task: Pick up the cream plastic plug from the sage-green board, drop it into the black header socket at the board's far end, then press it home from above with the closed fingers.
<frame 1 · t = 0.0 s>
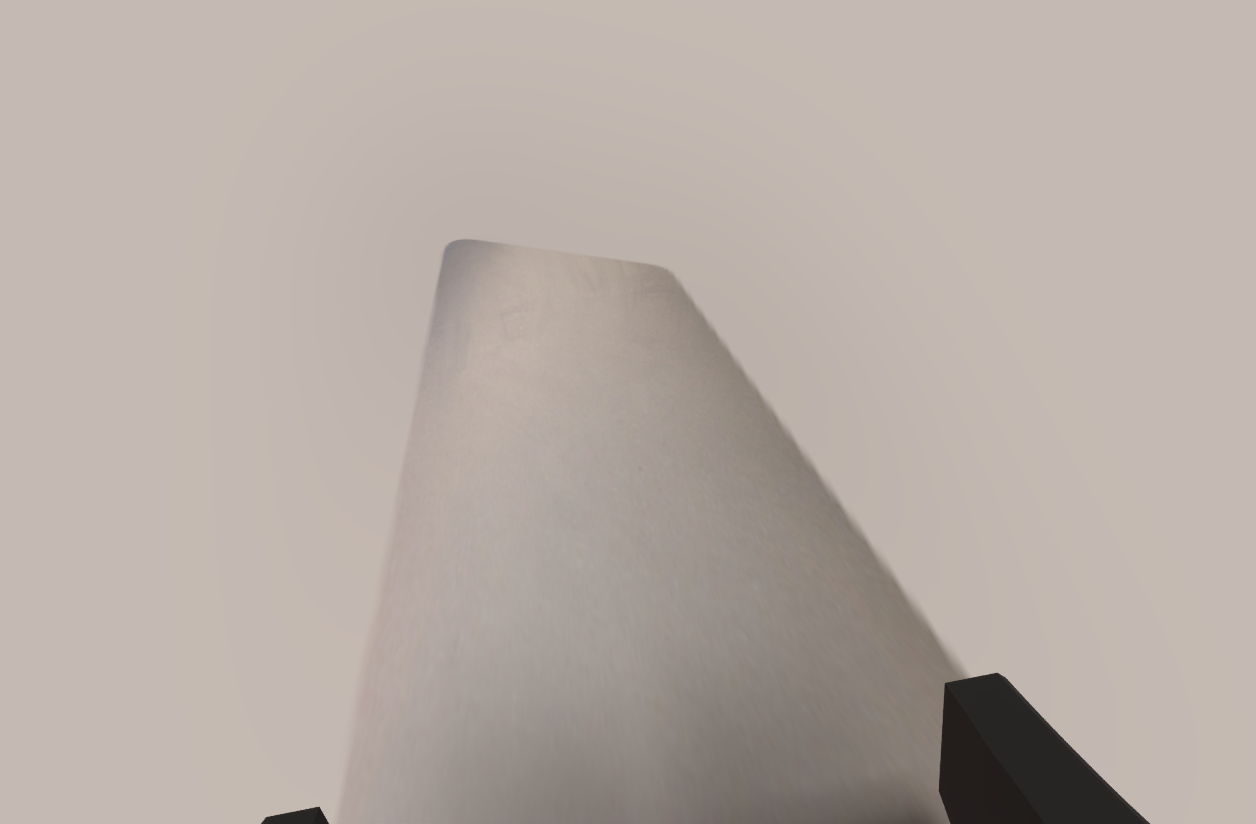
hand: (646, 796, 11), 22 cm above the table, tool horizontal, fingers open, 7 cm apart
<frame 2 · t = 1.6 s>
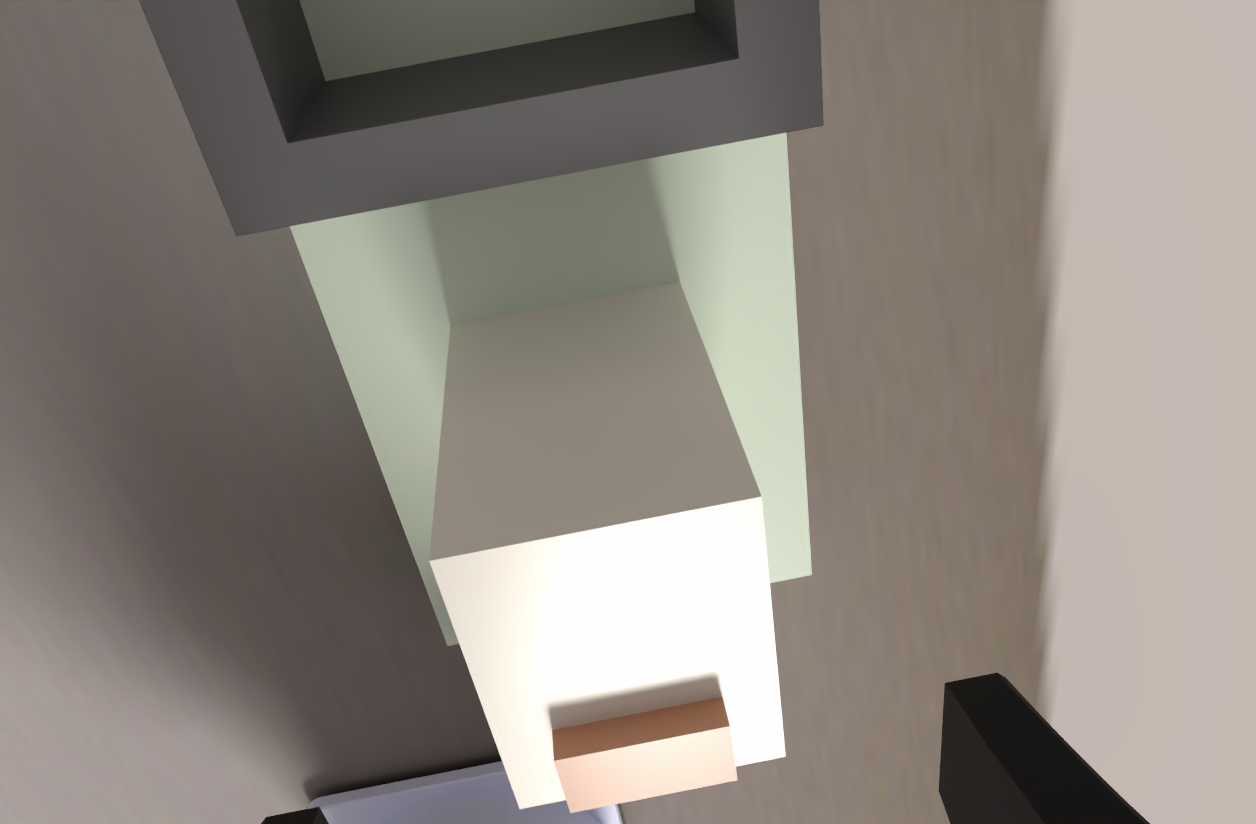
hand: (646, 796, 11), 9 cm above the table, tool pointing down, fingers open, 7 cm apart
plug: (590, 421, 17), point 1 cm above the table, touching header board
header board: (532, 134, 16), on the table
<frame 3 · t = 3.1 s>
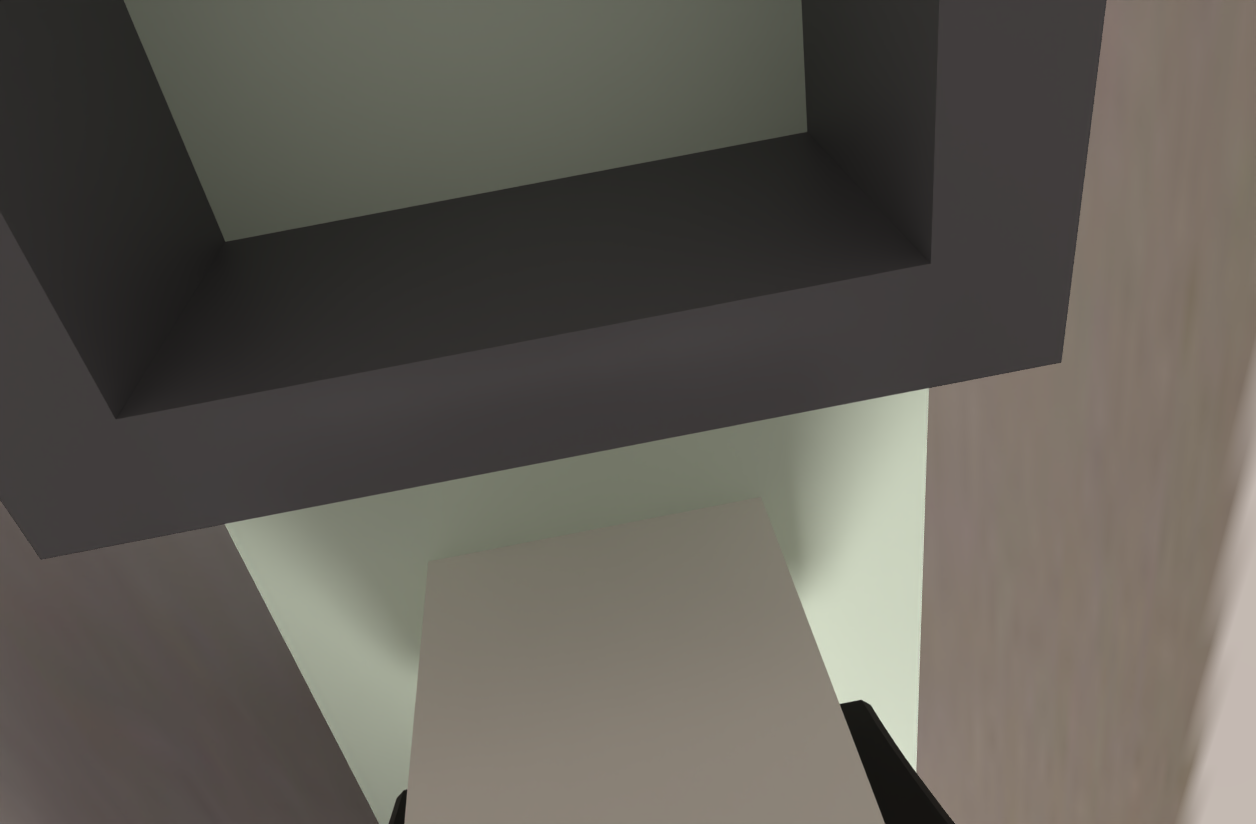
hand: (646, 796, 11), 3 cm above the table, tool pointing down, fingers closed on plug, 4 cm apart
plug: (626, 670, 12), point 1 cm above the table, touching gripper, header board
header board: (547, 285, 11), on the table
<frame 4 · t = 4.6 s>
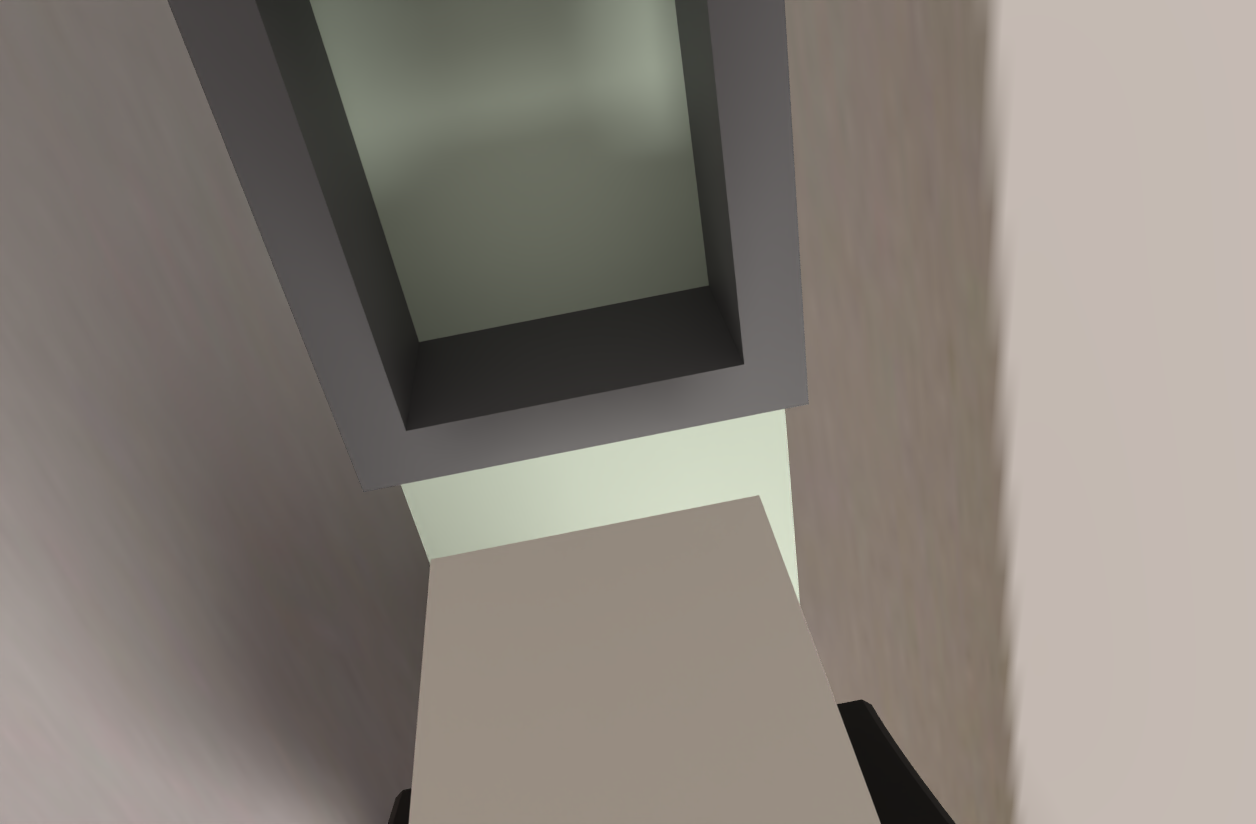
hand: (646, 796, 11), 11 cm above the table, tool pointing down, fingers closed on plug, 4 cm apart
plug: (627, 664, 13), point 9 cm above the table, touching gripper
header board: (576, 355, 20), on the table
when the fingers open (5 cm above the table, at t = 6.4 s): plug drops 1 cm, resting on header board.
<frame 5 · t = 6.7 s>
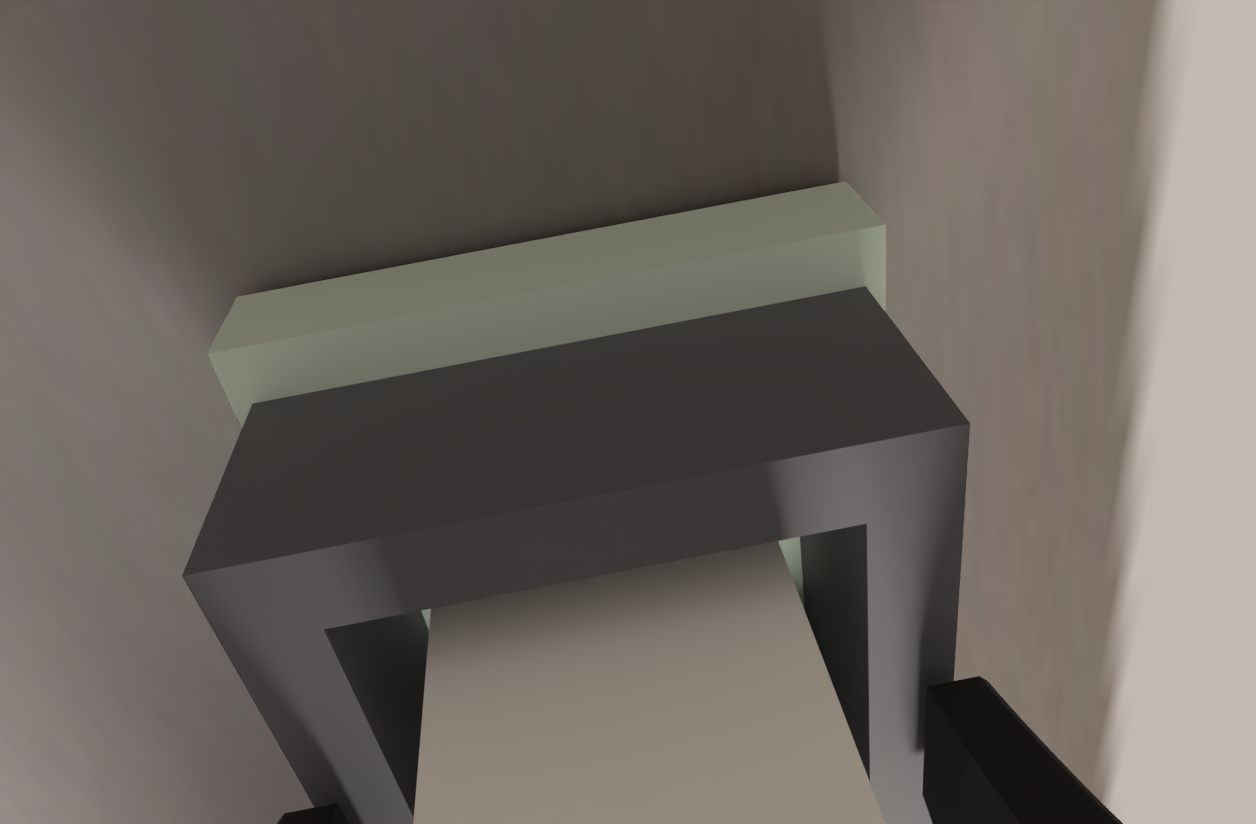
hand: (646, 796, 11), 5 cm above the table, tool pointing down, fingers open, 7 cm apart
plug: (619, 602, 14), point 1 cm above the table, touching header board
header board: (649, 728, 18), on the table
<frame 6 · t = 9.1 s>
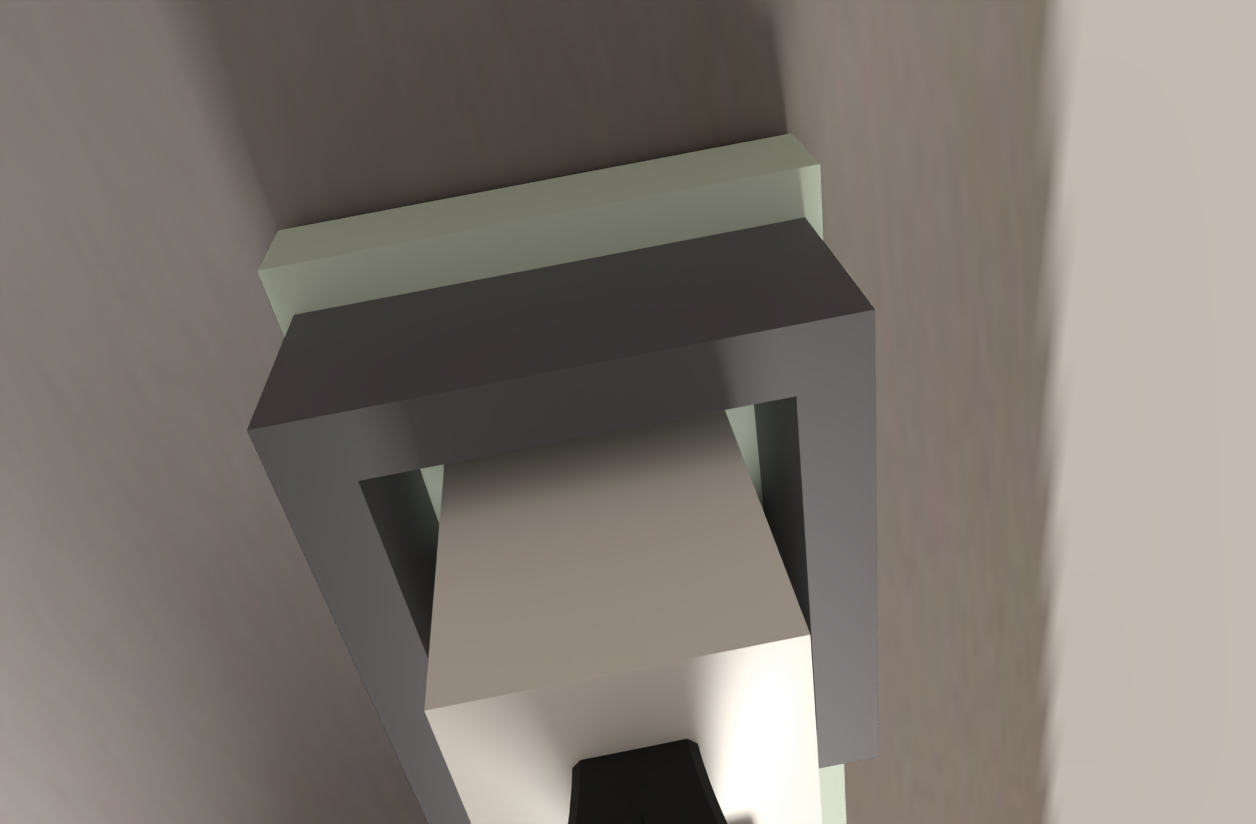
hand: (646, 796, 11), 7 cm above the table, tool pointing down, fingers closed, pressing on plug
plug: (602, 499, 16), point 1 cm above the table, touching gripper, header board
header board: (632, 633, 20), on the table
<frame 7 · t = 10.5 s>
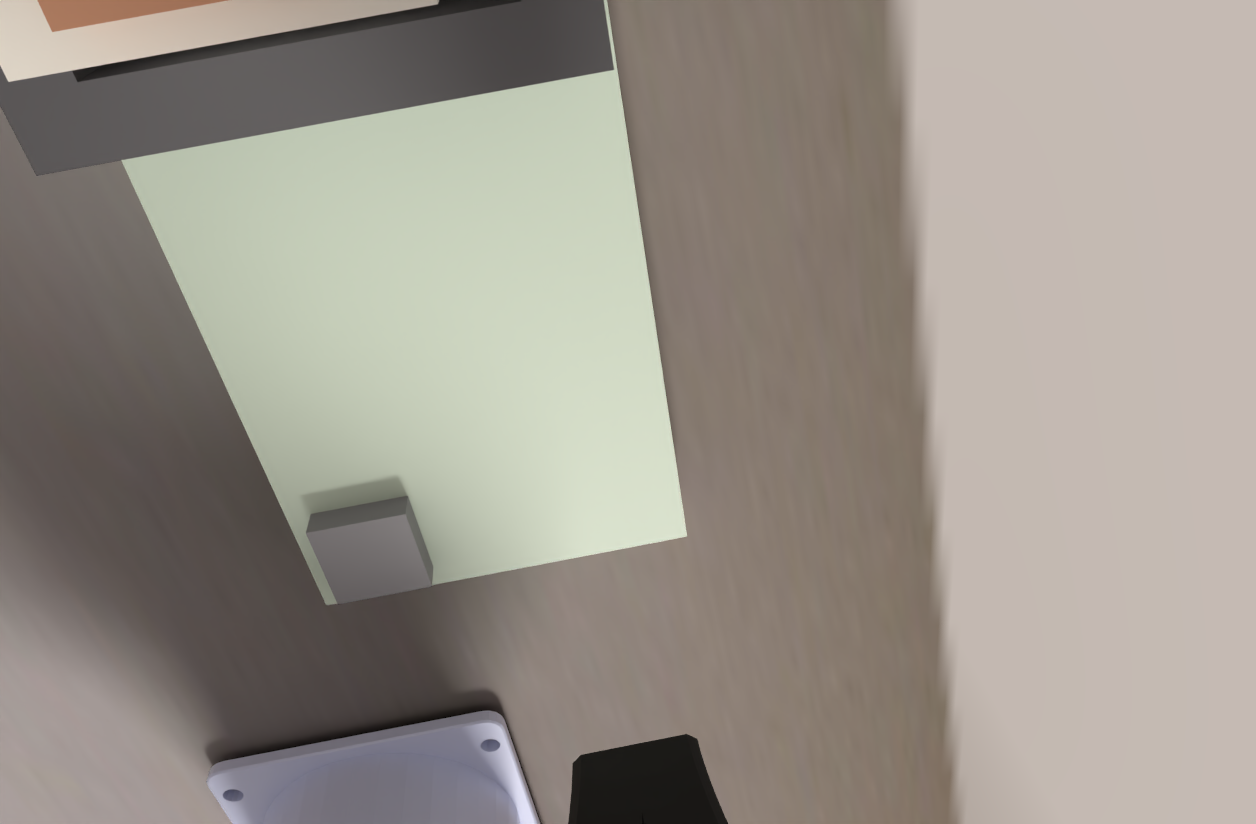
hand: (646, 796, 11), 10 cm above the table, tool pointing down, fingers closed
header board: (380, 91, 16), on the table
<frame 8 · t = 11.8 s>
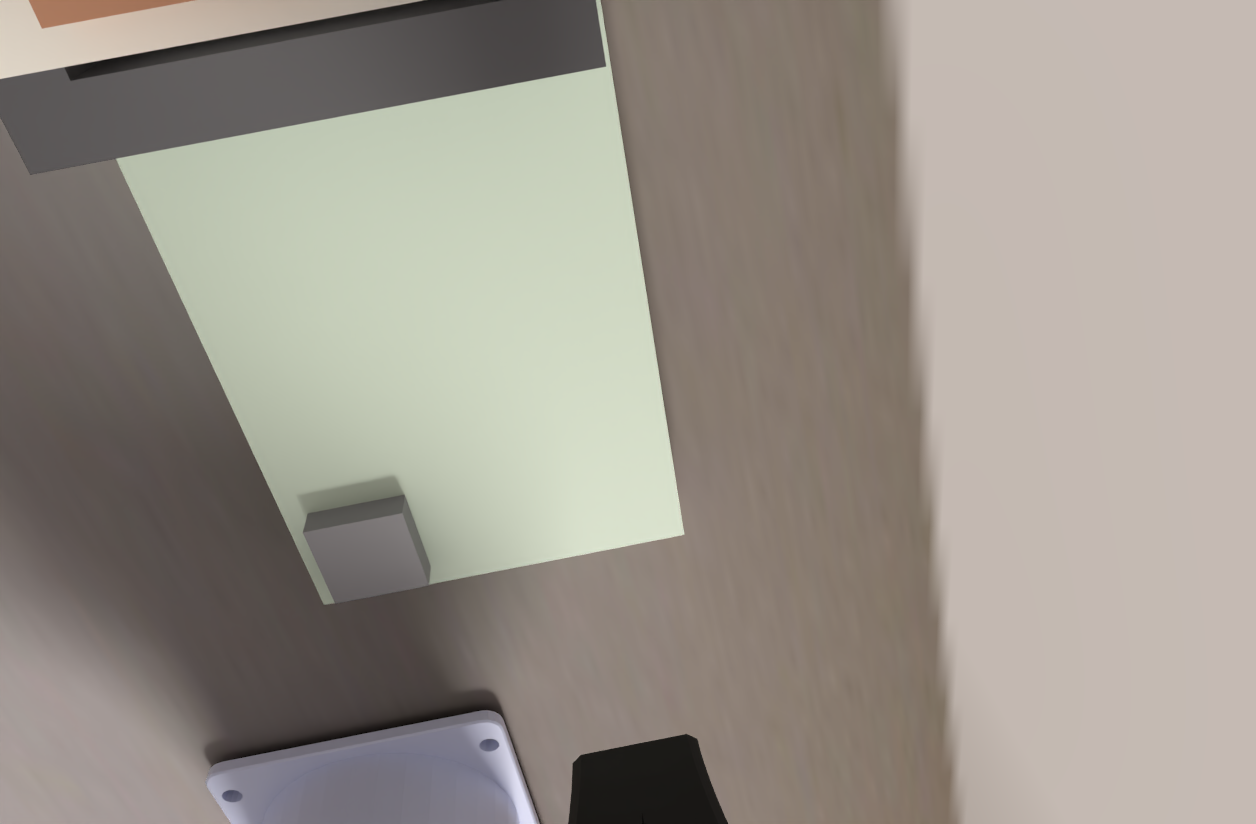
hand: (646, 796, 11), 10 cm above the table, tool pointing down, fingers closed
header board: (375, 90, 16), on the table
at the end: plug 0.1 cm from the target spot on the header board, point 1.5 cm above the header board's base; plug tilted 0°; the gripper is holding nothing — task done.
